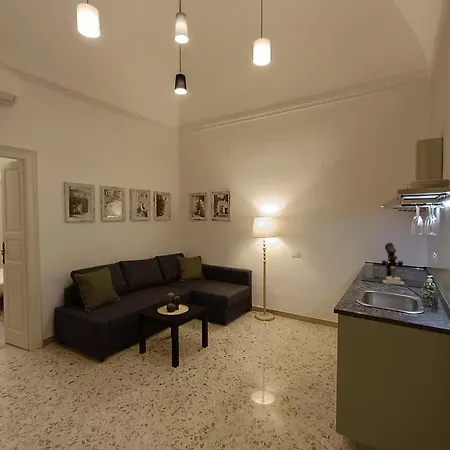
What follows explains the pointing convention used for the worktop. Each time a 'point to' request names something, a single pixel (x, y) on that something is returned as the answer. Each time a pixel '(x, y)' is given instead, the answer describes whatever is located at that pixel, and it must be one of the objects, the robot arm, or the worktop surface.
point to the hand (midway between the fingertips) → (392, 270)
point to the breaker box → (393, 280)
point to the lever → (392, 271)
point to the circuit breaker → (370, 270)
